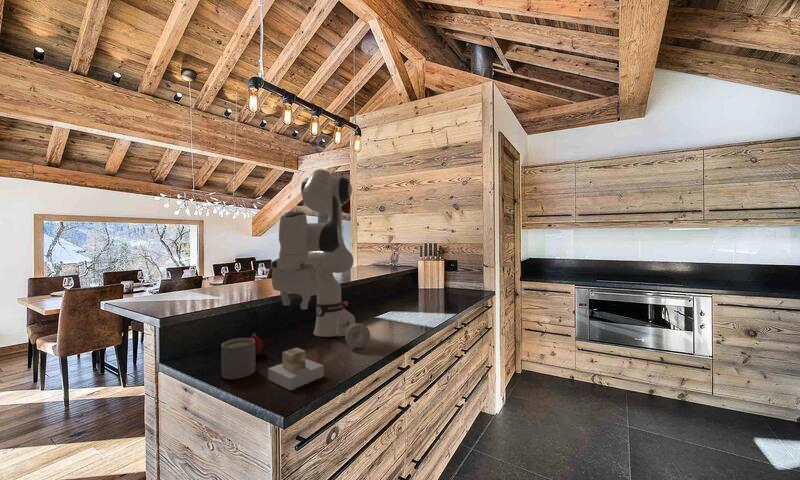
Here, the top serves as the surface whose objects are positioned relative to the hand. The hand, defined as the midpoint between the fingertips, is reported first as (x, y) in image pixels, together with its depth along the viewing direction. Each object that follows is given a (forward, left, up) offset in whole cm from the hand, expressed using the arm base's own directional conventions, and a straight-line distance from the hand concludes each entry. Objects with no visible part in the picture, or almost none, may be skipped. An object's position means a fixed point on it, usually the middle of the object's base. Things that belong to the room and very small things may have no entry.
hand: (295, 307), depth 102 cm
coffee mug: (+8, -20, -23) cm, 31 cm away
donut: (-31, -4, -23) cm, 39 cm away
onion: (-2, -30, -23) cm, 38 cm away
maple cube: (+1, 0, -19) cm, 19 cm away
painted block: (0, 0, -23) cm, 23 cm away
